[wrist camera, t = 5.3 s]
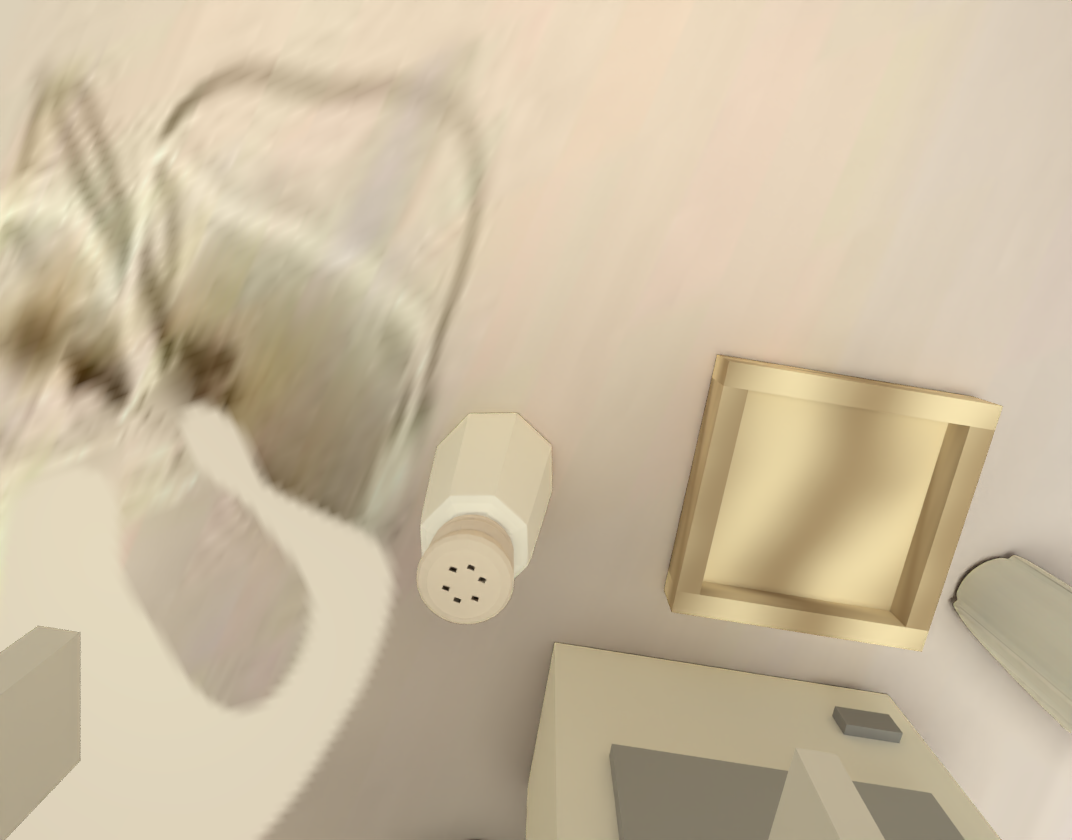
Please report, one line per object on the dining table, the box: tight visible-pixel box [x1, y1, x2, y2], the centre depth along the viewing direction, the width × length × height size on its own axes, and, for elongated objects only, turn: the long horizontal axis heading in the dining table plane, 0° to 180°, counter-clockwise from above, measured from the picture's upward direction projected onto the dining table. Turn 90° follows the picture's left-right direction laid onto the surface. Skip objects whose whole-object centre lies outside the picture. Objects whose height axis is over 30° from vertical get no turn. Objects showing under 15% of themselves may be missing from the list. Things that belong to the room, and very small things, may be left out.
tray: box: [664, 354, 1003, 652], centre depth 29 cm, size 11×11×2 cm
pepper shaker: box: [416, 413, 552, 624], centre depth 24 cm, size 5×5×11 cm
